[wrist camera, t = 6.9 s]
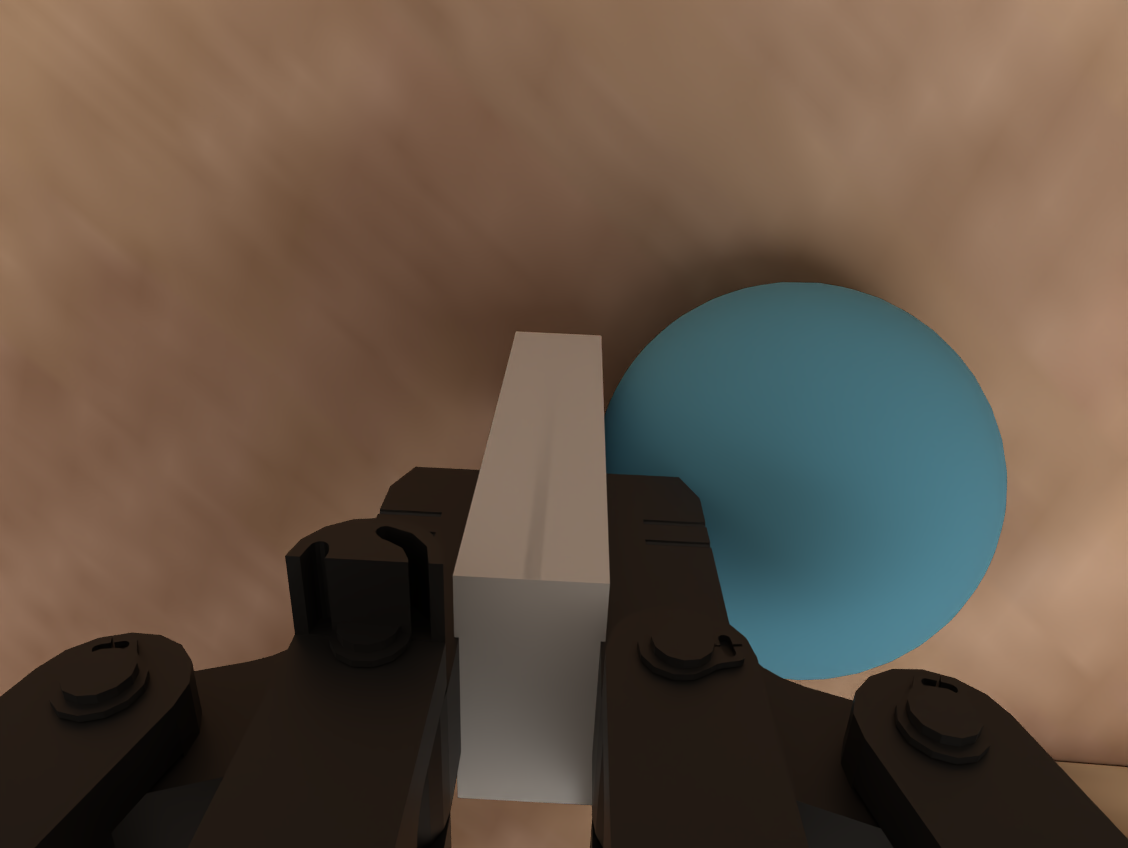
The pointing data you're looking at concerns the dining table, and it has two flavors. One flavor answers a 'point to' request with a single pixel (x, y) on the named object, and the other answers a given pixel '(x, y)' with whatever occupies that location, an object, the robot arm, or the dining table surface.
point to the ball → (821, 468)
